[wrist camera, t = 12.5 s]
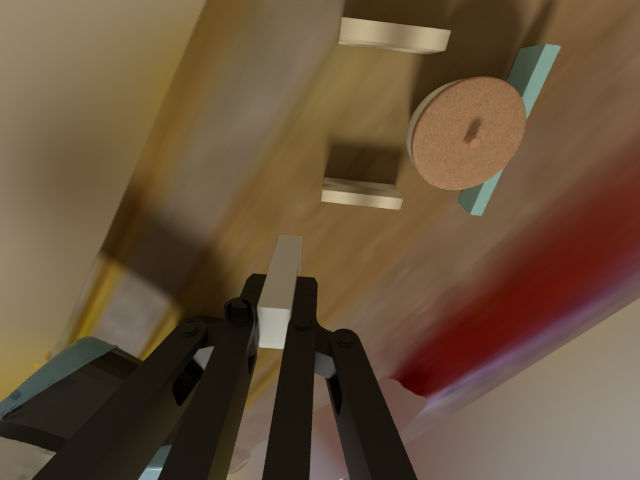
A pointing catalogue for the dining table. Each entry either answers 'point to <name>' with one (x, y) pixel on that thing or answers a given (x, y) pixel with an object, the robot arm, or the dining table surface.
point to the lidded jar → (466, 132)
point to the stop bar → (528, 83)
